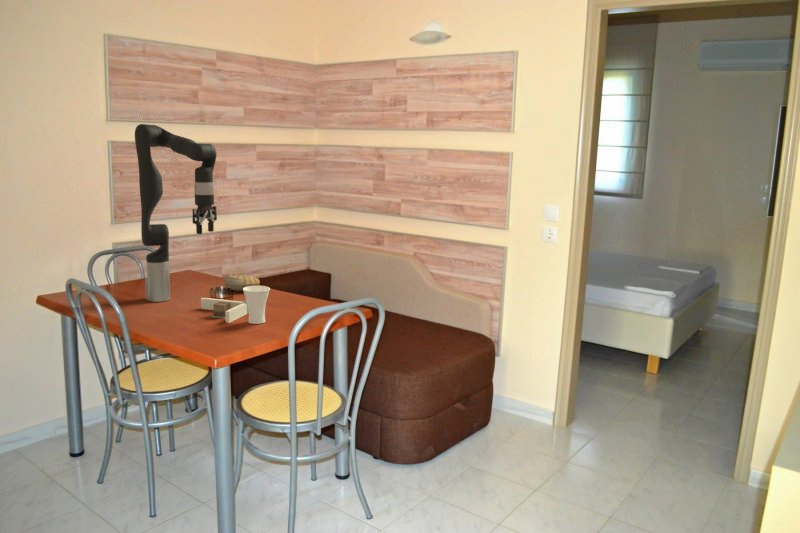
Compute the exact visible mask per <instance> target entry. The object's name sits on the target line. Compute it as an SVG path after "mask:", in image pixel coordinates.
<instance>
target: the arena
mask: <svg viewBox="0 0 800 533" xmlns="http://www.w3.org/2000/svg"><path fill="white" fill-rule="evenodd" d="M220 301H222V302H231V309H229V310H227V311H225V317H216V316H214V314H213V315H210V316H209V317H210V318H216V319H225V323H228V324H230V323H231V322H234V321H235V320H238V319H240V318H241V317H243V316H247V315H249V310H248V304H247V301H246V299H245V300H243V301H239V300H238V301H237V300H229V299H219V298H210V297H209V298H208V297H201V298H200V306H201V308H200V309H201V310H209V311H214V307H213V304H215V303H217V302H220Z"/></svg>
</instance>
